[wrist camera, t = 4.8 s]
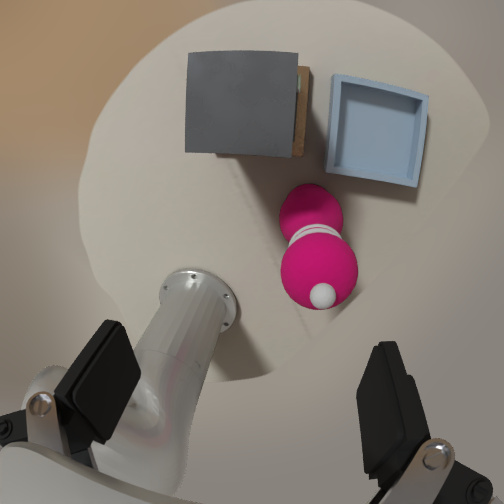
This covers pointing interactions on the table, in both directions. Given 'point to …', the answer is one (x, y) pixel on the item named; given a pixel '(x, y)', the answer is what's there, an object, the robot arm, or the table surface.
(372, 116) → the parts tray
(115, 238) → the table surface
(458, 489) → the robot arm
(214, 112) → the control unit
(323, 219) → the pepper mill
